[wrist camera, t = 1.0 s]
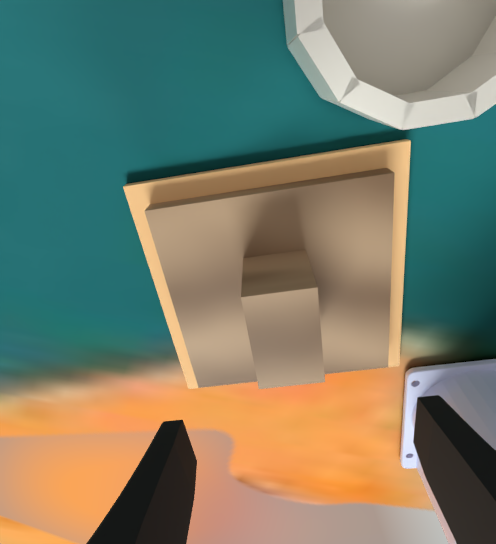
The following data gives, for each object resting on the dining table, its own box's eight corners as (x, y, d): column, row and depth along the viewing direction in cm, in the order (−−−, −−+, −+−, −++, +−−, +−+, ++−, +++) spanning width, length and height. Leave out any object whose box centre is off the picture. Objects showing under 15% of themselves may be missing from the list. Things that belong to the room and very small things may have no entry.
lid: (382, 355, 21) (412, 418, 17) (200, 375, 22) (189, 440, 18) (386, 167, 16) (430, 196, 12) (150, 204, 17) (118, 241, 13)
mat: (396, 360, 22) (399, 366, 22) (189, 382, 23) (188, 388, 23) (406, 139, 16) (410, 140, 15) (126, 183, 17) (123, 186, 17)
